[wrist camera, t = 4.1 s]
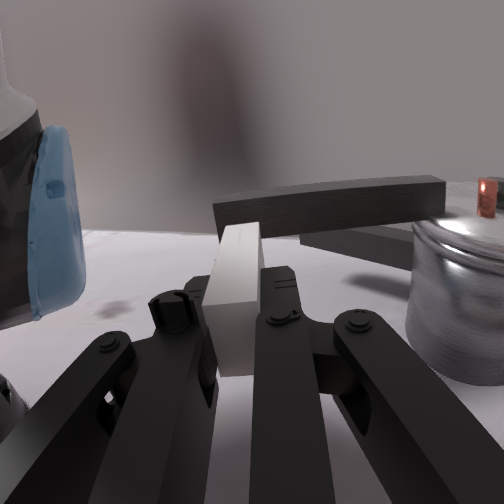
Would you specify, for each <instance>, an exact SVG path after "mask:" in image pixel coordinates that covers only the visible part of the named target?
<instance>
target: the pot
mask: <svg viewBox="0 0 504 504" xmlns="http://www.w3.org/2000/svg"><path fill="white" fill-rule="evenodd" d="M412 229H413V232H411V231H406V230H401V229H396V228H390V227H385V226H379V225H378V226H369V227H360V228H351V229H341V230H333V231H324V232H315V233H306V234H299V236H300V244H301V245H305V246H310V247H314V248H318V249H322V250H326V251H331V252H335V253H339V254H343V255H347V256H351V257H355V258H359V259H363V260H368V261H372V262H376V263H380V264H384V265H388V266H392V267H396V268H400V269H404V270H408V271H412V274H411V284H410V293H409V301H408V309H407V316H406V323H405V328H406V334H407V338H408V340H409V342H410V345H411V346H412V348H413V349H414V351H415V352H416V353H417V354H418V355H419V356H420V358H421V359H422V360H423V361H424V362H425V363H427V364H428V365H429V366H430V367H432V368H433V369H435V370H436V371H438V372H440V373H441V374H443V375H445V376H447V377H449V378H452V379H454V380H457V381H460V382H464V383H467V384H473V385H479V386H495V385H503V384H504V260H502V259H497V258H492V257H488V256H484V255H481V254H477V253H473V252H470V251H467V250H464V249H461V248H458V247H456V246H453V245H451V244H448V243H446V242H444V241H441V240H439V239H437V238H435V237H433V236H432V235H430V234H428V233H426V232H425V231H424V230H422V229H421V228H419V227H418V226H417V225H416V224H415V223H414V222H412Z"/></svg>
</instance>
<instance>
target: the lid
mask: <svg viewBox="0 0 504 504" xmlns="http://www.w3.org/2000/svg"><path fill="white" fill-rule="evenodd" d="M213 210H214V216H215V221H216V226H217V232H218V238H219V243H221V239H222V236H223V233H224V230H225V227H226V226H230V225H238V224H246V223H254V222H259V227H260V235H261V239H263V238H271V237H280V236H289V235H297V234H306V233H315V232H324V231H333V230H341V229H351V228H360V227H369V226H378V225H387V224H397V223H406V222H414V223H415V224H416V225H417V226H418V227H419V228H421V229H422V230H424V231H425V232H426V233H428V234H430V235H432V236H433V237H435V238H437V239H439V240H441V241H444V242H446V243H448V244H451V245H453V246H456V247H458V248H461V249H464V250H467V251H470V252H473V253H477V254H481V255H484V256H488V257H492V258H497V259H502V260H504V178H499V177H487V178H479V179H478V182H446V181H443V180H441V179H439V178H436V177H434V176H432V175H421V176H401V177H387V178H386V177H385V178H371V179H358V180H347V181H335V182H323V183H313V184H303V185H294V186H285V187H276V188H268V189H259V190H252V191H244V192H236V193H229V194H222V195H217V196H216V198H215V200H214V202H213Z"/></svg>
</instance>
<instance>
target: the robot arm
mask: <svg viewBox="0 0 504 504" xmlns="http://www.w3.org/2000/svg"><path fill="white" fill-rule="evenodd" d="M68 138H69V137H68V132H67V130H66V129H65V128H64V127H61V126H57V127H55V126H53V125H50V126H48V127H46V128H45V130H43V128H42V126H41V124H40V119H39V115H38V110H37V106H36V103H35V100H33V99H31V98H29V97H27V96H25V95H24V94H22V93H19V92H18V91H16V90H14V89H12V88H11V87H10V85H9V83H8V81H7V77H6V71H5V65H4V57H3V49H2V40H1V29H0V330H3V329H7V328H10V327H14V326H17V325H21V324H24V323H27V322H31V321H38V320H40V319H41V318H42V316H44V315H47V314H49V313H52V312H55V311H57V310H60V309H62V308H65V307H67V306H70V305H72V304H73V303H74V302H76V301H77V300H78V299H79V297H80V296H81V294H82V293H83V291H84V288H85V285H86V265H85V255H84V247H83V239H82V231H81V223H80V215H79V207H78V200H77V192H76V183H75V175H74V167H73V159H72V152H71V147H70V144H69V139H68ZM148 306H149V309H150V312H151V314H152V317H153V320H154V323H155V326H156V329H155V332H154V334H153V336H152V337H150V338H147V339H143V340H139V341H134V342H131V339H130V337H129V336H128V334H127V333H125V332H122V331H111V332H107V333H104V334H103V335H101V336H99V337H98V338H96V339H95V340H94V341H93V342H92V343H91V344H90V345H89V346H88V347H87V348H86V349H85V350H84V351H83V352H82V353H81V354H80V355H79V356H78V358H77V359H76V360H75V361H74V362H73V363H72V364H71V365H70V366H69V367H68V368H67V369H66V370H65V371H64V373H63V374H62V375H61V376H60V377H59V378H58V379H57V380H56V381H55V382H54V384H53V385H52V386H51V387H50V388H49V389H48V390H47V391H46V392H45V393H44V395H43V396H42V397H41V398H40V399H39V400H38V401H37V402H36V404H35V405H34V406H33V407H32V408H31V409H30V410H29V412H28V413H27V414H26V409H25V405H24V403H23V401H22V399H21V397H20V396H19V394H18V393H17V392H16V390H15V389H14V387H13V386H12V384H11V383H10V382H9V381H8V380H7V379H6V378H5V377H4V376H3V375H2V374H0V504H204V498H205V490H206V482H207V474H208V467H209V459H210V451H211V444H212V436H213V429H214V421H215V414H216V406H217V399H218V392H219V387H218V382H217V379H216V372H217V366H218V370H219V373H220V377H231V376H247V375H254V386H253V413H252V440H251V466H250V490H249V504H336V502H335V495H334V487H333V480H332V473H331V466H330V459H329V452H328V445H327V439H326V432H325V426H324V419H323V413H322V407H321V401H320V395H319V393H323V394H331V395H332V396H333V399H334V401H335V403H336V405H337V406H338V408H339V410H340V412H341V413H342V415H343V417H344V419H345V420H346V422H347V424H348V426H349V428H350V429H351V431H352V433H353V435H354V436H355V438H356V440H357V442H358V443H359V445H360V447H361V449H362V450H363V452H364V454H365V456H366V457H367V459H368V461H369V463H370V465H371V466H372V468H373V470H374V472H375V473H376V475H377V477H378V479H379V480H380V482H381V484H382V486H383V487H384V489H385V491H386V493H387V494H388V496H389V498H390V500H391V501H392V503H393V504H504V450H503V449H502V448H501V447H500V445H499V444H498V443H497V442H496V441H495V440H494V438H493V437H492V436H491V435H490V434H489V433H488V431H487V430H486V429H485V428H484V427H483V426H482V425H481V423H480V422H479V421H478V420H477V419H476V418H475V417H474V415H473V414H472V413H471V412H470V411H469V410H468V409H467V408H466V406H465V405H464V404H463V403H462V402H461V401H460V400H459V399H458V398H457V396H456V395H455V394H454V393H453V392H452V391H451V390H450V389H449V388H448V387H447V385H446V384H445V383H444V382H443V381H442V380H441V379H440V378H439V377H438V376H437V375H436V374H435V372H434V371H433V370H432V369H431V368H430V367H429V366H428V365H427V364H426V363H425V362H424V361H423V360H422V359H421V358H420V356H419V355H418V354H417V353H416V352H415V351H414V350H413V349H412V348H411V347H410V346H409V345H408V344H407V343H406V342H405V341H404V340H403V339H402V338H401V337H400V336H399V335H398V334H397V333H396V331H395V330H394V329H393V328H392V327H391V326H390V325H389V324H388V323H387V322H386V321H385V320H384V319H383V318H382V317H381V316H379V315H378V314H376V313H375V312H372V311H369V310H365V309H354V310H348V311H346V312H343V313H341V314H340V315H339V316H338V317H337V318H335V321H334V323H323V322H317V321H314V320H312V319H310V318H308V317H307V316H306V315H305V314H304V313H303V311H302V308H301V302H300V297H299V292H298V287H297V282H296V277H295V272H294V271H293V270H292V269H291V268H290V267H288V266H280V267H271V268H265V265H264V257H263V250H262V242H261V235H260V227H259V222H254V223H246V224H238V225H230V226H226V227H225V230H224V233H223V236H222V239H221V243H220V246H219V249H218V252H217V256H216V259H215V262H214V265H213V269H212V272H211V275H206V276H197V277H193V278H192V279H191V280H190V281H188V282H187V283H186V285H185V287H184V289H183V290H171V291H167V292H164V293H161V294H159V295H157V296H156V297H154V298H152V299H151V301H150V302H149V303H148ZM109 391H110V393H111V394H112V396H113V399H112V401H110V402H109V403H107V402H106V400H105V399H104V397H105V396H106V394H107V393H108V392H109Z"/></svg>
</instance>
